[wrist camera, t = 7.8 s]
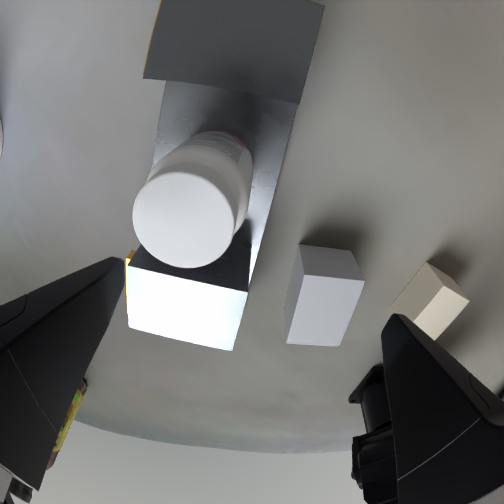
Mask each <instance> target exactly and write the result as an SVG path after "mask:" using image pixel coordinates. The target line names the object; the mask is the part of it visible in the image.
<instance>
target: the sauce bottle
mask: <svg viewBox="0 0 504 504" xmlns="http://www.w3.org/2000/svg"><path fill="white" fill-rule="evenodd" d="M86 387H87V386H86V384H85V383H84V381H83V380H82V381H81V383H80V385H79V387H78V390H77V392H76V394H75V396H74V399H73V401H72V403H71V406H70V408H69V410H68V413H67V415H66V418H65V420H64V422H63V425H62V427H61V430H60V432H59V434H58V438H57V441H56V443H55V446H54V449H53V451H52V454H51V457H50V459H49V462H48V465H47V468H46V470H47V469H49V468H50V467H52V465H53V464H54V462H55V459H56V457H57V454H58V452H59V451H60V449H61V447H62V444H63V442H64V440H65V438H66V435H67V433H68V431H69V428H70V426H71V424H72V422H73V419H74V417H75V415H76V413H77V411H78V409H79V407H80V405H81V402H82V400H83V395H84V394H85V392H86V390H87V388H86ZM8 490H9V493H10V494H12V495H14V496H15V497H17V498H18V499H20V500H22V501H24V502H26V503H27V504H29V502H30V500H31V498H32V490H33V488H31V487H29V486H27V485H26V484H24V483H22V482H21V481H19V480H17V479H16V478H14V477H12V480H11V482H10V485H9V488H8Z"/></svg>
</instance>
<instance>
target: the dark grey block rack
mask: <svg viewBox="0 0 504 504" xmlns="http://www.w3.org/2000/svg"><path fill="white" fill-rule="evenodd" d="M324 7H325V6H324V5H321V4H317V3H314V2H310V1H307V0H161V3H160V6H159V9H158V13H157V17H156V20H155V24H154V28H153V32H152V36H151V40H150V44H149V49H148V53H147V58H146V63H145V67H144V73H143V79H156V80H166V83H165V88H164V94H163V99H162V105H161V111H160V117H159V123H158V129H157V136H156V143H155V150H154V158H153V166H152V169H153V167H154V166H155V165H156V164H157V162H158V161H159V160H160V159H162V158H163V157H164V156H165V155H167V154H168V153H169V152H171V151H172V150H173V149H175V148H176V147H178V146H179V145H181V144H182V143H184V142H185V141H187V140H188V139H190V138H191V137H193V136H195V135H197V134H199V133H202V132H205V131H212V130H217V131H224V132H227V133H230V134H232V135H234V136H235V137H237V138H238V139H240V140H241V141H242V142H243V143H244V144H245V146H246V147H247V148H248V150H249V152H250V154H251V157H252V161H253V170H254V171H253V179H252V186H251V193H250V201H249V207H248V211H247V214H246V217H245V219H244V221H243V223H242V225H241V226H240V228H239V229H238V230H237V232H236V233H235V234H234V235H233V238H232V241H231V243H230V245H229V246H228V248H227V249H226V251H225V252H224V253H223V254H222V255H221V256H220V257H219V258H218V259H216V260H215V261H213V262H211V263H209V264H207V265H204V266H200V267H196V268H181V267H175V266H172V265H169V264H167V263H164V262H162V261H160V260H159V259H157V258H156V257H154V256H153V255H152V254H150V253H149V252H148V251H147V250H146V248H145V247H144V246H143V245H142V244H141V245H140V247H139V248H138V250H137V251H133V250H132V251H131V253H130V254H129V255H128V257H127V258H126V280H127V307H128V318H129V327H131V328H134V329H138V330H142V331H145V332H149V333H153V334H157V335H161V336H165V337H169V338H173V339H178V340H182V341H186V342H191V343H195V344H200V345H205V346H209V347H214V348H219V349H224V350H230V351H232V349H233V345H234V341H235V338H236V334H237V331H238V327H239V324H240V320H241V316H242V313H243V309H244V306H245V302H246V298H247V295H248V288H249V283H250V280H251V276H252V272H253V269H254V265H255V261H256V258H257V254H258V250H259V247H260V243H261V239H262V236H263V232H264V228H265V225H266V221H267V217H268V214H269V210H270V206H271V202H272V199H273V195H274V191H275V188H276V184H277V180H278V176H279V173H280V169H281V165H282V162H283V158H284V154H285V150H286V147H287V143H288V139H289V135H290V132H291V128H292V124H293V120H294V117H295V113H296V109H297V105H299V103H300V99H301V96H302V92H303V88H304V84H305V81H306V77H307V73H308V69H309V65H310V61H311V58H312V54H313V50H314V46H315V42H316V38H317V35H318V31H319V27H320V23H321V19H322V15H323V11H324Z"/></svg>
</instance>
